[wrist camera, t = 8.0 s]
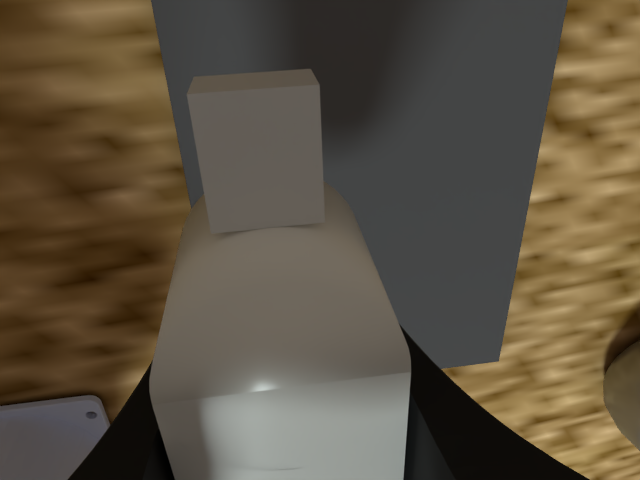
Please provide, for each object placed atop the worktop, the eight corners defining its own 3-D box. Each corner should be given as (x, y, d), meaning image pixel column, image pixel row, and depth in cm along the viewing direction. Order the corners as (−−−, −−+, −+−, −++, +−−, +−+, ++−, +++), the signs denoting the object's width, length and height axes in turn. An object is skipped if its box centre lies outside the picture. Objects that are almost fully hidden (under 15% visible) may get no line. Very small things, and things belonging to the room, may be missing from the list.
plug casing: (359, 432, 16) (395, 583, 12) (223, 450, 16) (216, 614, 12) (359, 48, 10) (429, 107, 6) (139, 63, 10) (69, 135, 6)
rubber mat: (494, 354, 26) (498, 361, 26) (227, 388, 25) (227, 396, 25) (565, -33, 17) (573, -33, 17) (151, -11, 16) (149, -10, 15)
